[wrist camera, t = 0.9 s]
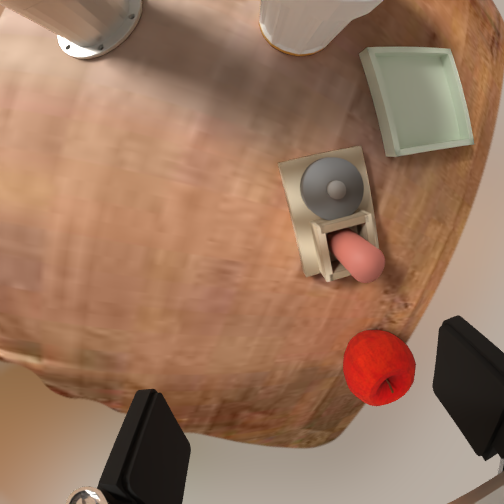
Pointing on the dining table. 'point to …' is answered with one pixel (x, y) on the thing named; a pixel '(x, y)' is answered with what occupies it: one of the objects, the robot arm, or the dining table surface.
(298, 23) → the cup
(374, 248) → the pin
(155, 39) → the dining table surface
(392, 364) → the apple
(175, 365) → the dining table surface
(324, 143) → the dining table surface
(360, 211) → the beige dial holder
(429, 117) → the tray
